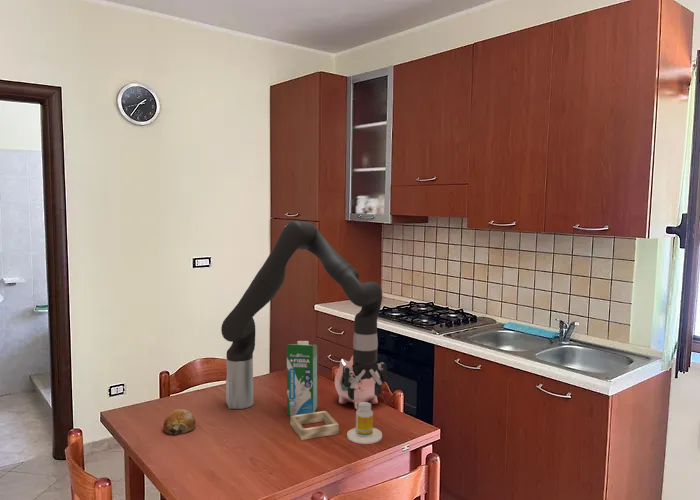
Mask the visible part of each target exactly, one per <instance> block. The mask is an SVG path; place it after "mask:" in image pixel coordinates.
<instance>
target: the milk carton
mask: <svg viewBox="0 0 700 500" xmlns="http://www.w3.org/2000/svg"><path fill="white" fill-rule="evenodd" d="M286 405H287V406H286V416H294V415H300V414H307V413H313V412H316V410H317V408H318V345H317V344H309V340H298V341H297V343H289V344H286Z"/></svg>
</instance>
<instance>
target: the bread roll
mask: <svg viewBox="0 0 700 500" xmlns="http://www.w3.org/2000/svg"><path fill="white" fill-rule="evenodd" d="M196 423H197V420H196V418H195V415H194V414H193V413H192V412H191V411H189V410H187V409H182V408H177V409H174V410H173V411H172V412H170V413H169V415H167V416H166V417H165V419H164V421H163V430H164V432H165V433H166V434H168V435H174V434H177V435H182V433H184V434H186V433H189V431H190V432H192V430H194V429H195V428H196Z"/></svg>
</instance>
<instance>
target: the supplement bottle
mask: <svg viewBox="0 0 700 500" xmlns="http://www.w3.org/2000/svg"><path fill="white" fill-rule="evenodd" d="M355 428H356V434H357V435H358V436H361V437H368V436H371V435H372V433H373V428H374V412H373V410H372V403H370V402H369V401H367V402H361V403H359V404H358V410H357V409H356V412H355Z"/></svg>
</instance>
